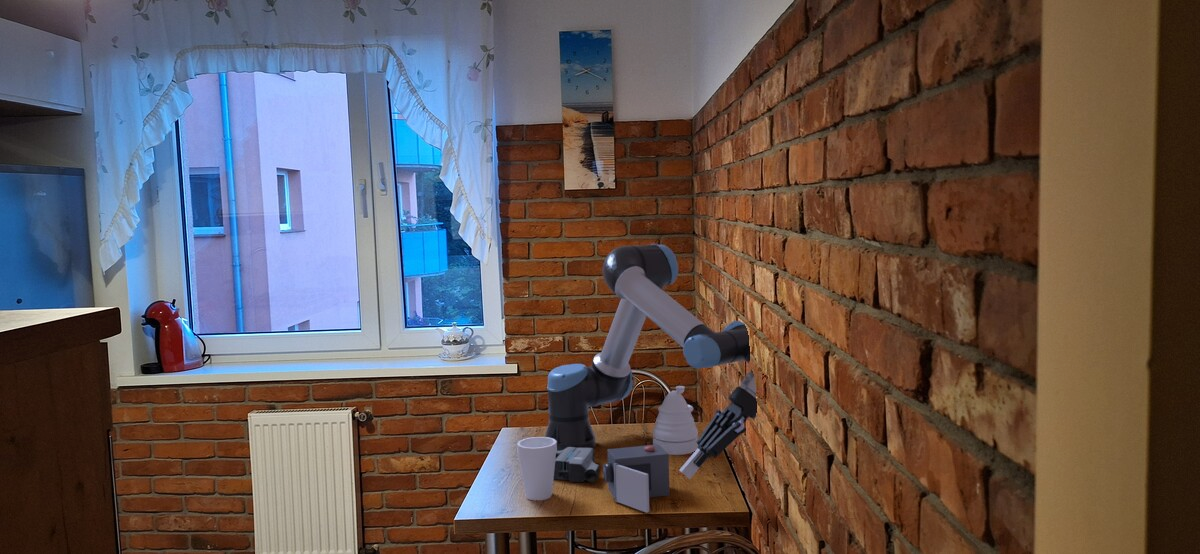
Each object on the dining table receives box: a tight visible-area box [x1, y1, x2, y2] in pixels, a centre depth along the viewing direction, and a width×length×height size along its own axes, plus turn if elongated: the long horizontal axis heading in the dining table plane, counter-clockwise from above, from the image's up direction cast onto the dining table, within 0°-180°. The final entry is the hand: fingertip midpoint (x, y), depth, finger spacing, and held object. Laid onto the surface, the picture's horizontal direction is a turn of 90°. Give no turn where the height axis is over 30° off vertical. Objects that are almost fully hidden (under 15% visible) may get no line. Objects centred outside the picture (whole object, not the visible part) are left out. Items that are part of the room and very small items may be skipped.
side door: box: [614, 463, 650, 514], centre depth 165 cm, size 1×10×9 cm, turn 42°
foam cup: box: [516, 436, 557, 501], centre depth 175 cm, size 10×9×13 cm
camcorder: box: [553, 447, 600, 483], centre depth 190 cm, size 16×20×5 cm
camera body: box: [602, 444, 670, 500], centre depth 174 cm, size 8×15×11 cm, turn 102°
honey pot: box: [652, 385, 699, 456], centre depth 209 cm, size 13×13×18 cm
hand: (684, 474), depth 164 cm, fingers closed
